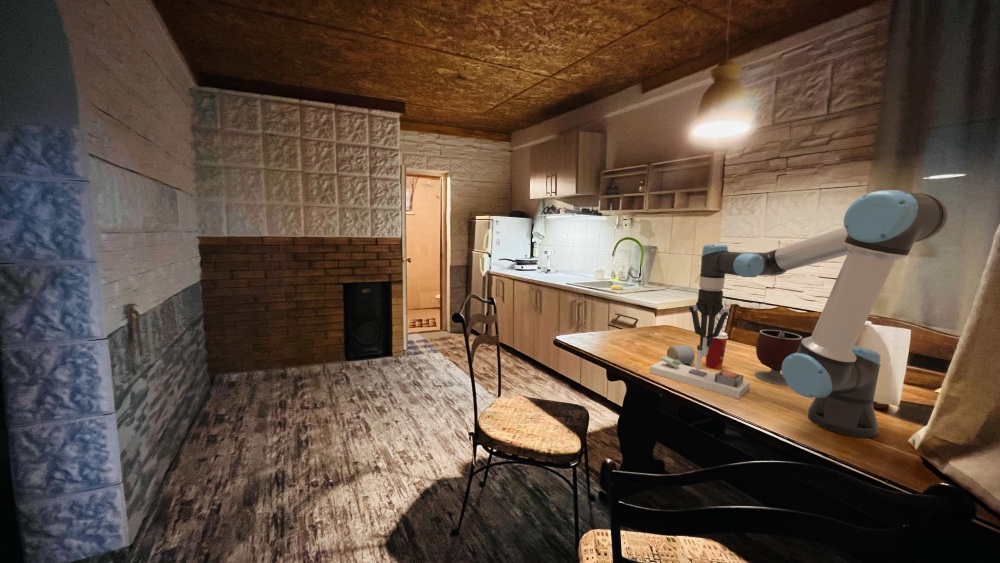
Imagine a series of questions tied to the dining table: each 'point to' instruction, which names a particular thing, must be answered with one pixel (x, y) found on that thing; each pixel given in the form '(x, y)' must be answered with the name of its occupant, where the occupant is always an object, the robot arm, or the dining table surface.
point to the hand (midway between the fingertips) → (704, 354)
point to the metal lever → (699, 357)
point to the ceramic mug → (682, 354)
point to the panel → (702, 379)
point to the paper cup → (716, 351)
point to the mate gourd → (775, 353)
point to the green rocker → (671, 361)
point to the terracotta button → (729, 374)
